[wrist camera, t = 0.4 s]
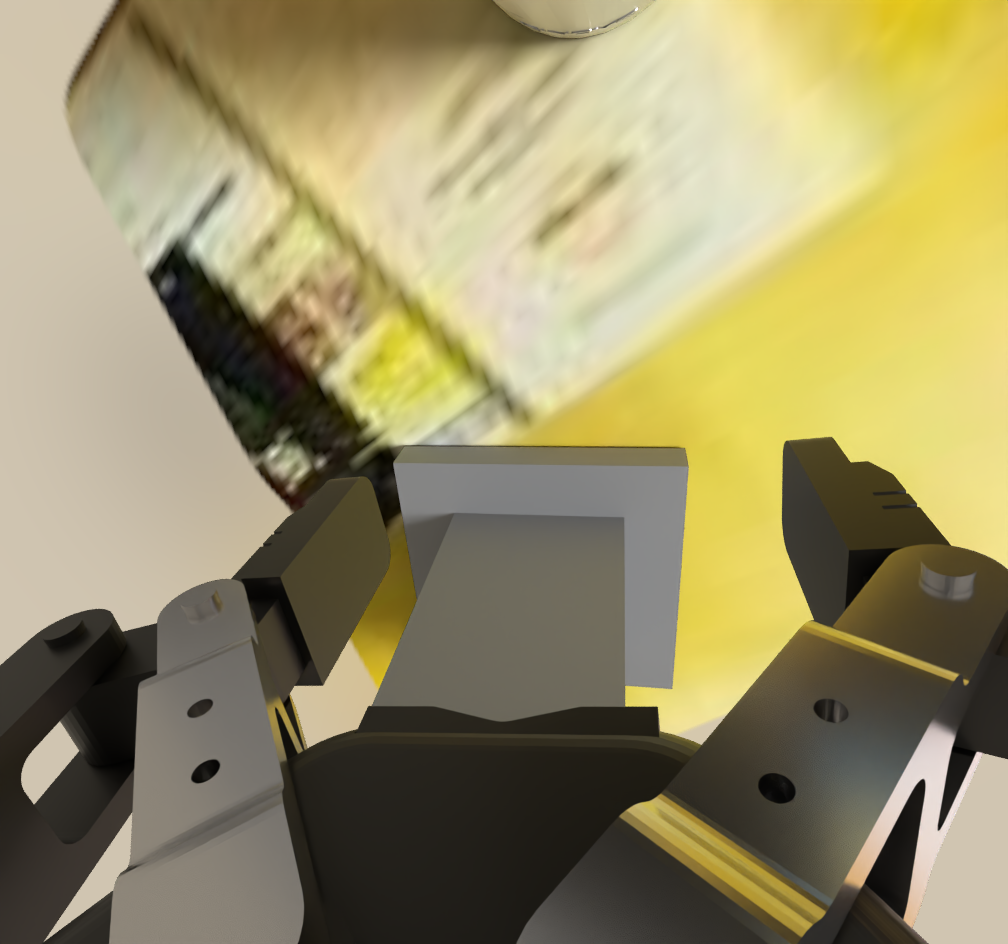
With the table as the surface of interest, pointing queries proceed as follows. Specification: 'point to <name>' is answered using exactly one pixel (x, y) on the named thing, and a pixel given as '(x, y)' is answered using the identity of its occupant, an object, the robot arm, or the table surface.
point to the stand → (538, 577)
